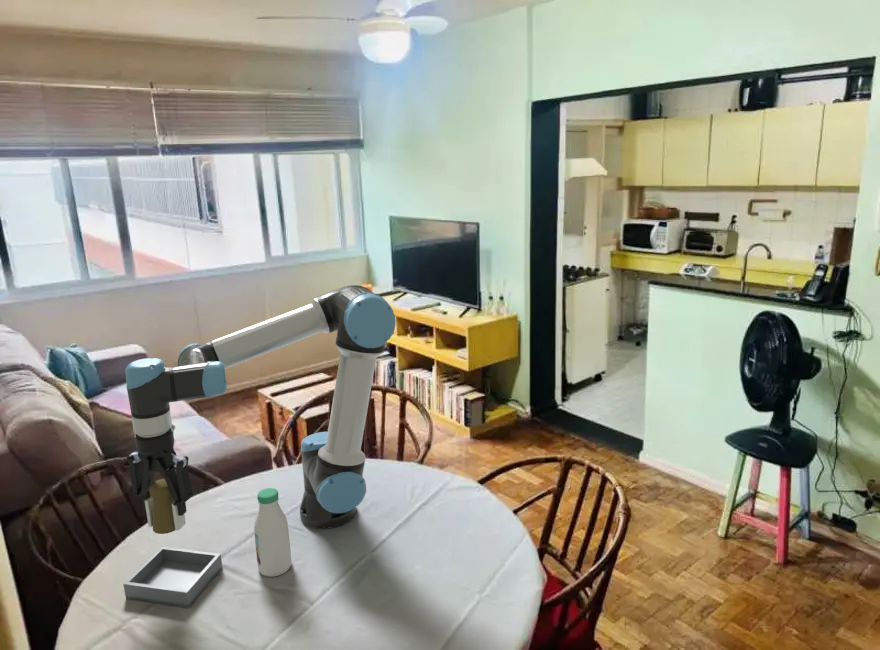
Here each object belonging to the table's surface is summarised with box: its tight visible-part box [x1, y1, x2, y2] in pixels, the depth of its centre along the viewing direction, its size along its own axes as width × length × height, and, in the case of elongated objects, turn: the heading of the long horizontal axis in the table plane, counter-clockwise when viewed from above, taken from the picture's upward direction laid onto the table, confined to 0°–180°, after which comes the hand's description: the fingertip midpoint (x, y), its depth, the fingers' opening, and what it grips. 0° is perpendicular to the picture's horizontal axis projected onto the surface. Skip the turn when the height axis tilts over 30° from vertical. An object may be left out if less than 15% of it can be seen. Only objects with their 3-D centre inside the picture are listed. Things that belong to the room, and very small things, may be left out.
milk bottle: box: [253, 487, 292, 578], centre depth 143 cm, size 8×8×20 cm
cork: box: [149, 478, 176, 535], centre depth 135 cm, size 6×6×11 cm
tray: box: [123, 546, 223, 609], centre depth 140 cm, size 16×14×4 cm
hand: (167, 524), depth 137 cm, fingers closed on cork, 6 cm apart
